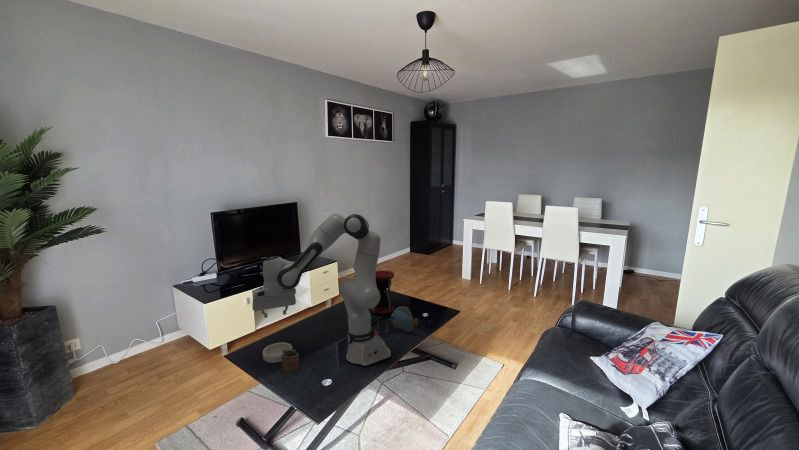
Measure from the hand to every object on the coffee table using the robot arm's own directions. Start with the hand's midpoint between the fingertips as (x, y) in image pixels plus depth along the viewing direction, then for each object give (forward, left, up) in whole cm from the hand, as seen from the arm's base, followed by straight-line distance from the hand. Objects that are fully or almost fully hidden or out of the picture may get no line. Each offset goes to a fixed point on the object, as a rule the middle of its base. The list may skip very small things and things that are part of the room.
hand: (275, 315), depth 167 cm
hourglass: (-69, -31, -21) cm, 79 cm away
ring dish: (0, 0, -21) cm, 21 cm away
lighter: (-5, +16, -21) cm, 27 cm away
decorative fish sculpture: (-69, +2, -21) cm, 72 cm away
